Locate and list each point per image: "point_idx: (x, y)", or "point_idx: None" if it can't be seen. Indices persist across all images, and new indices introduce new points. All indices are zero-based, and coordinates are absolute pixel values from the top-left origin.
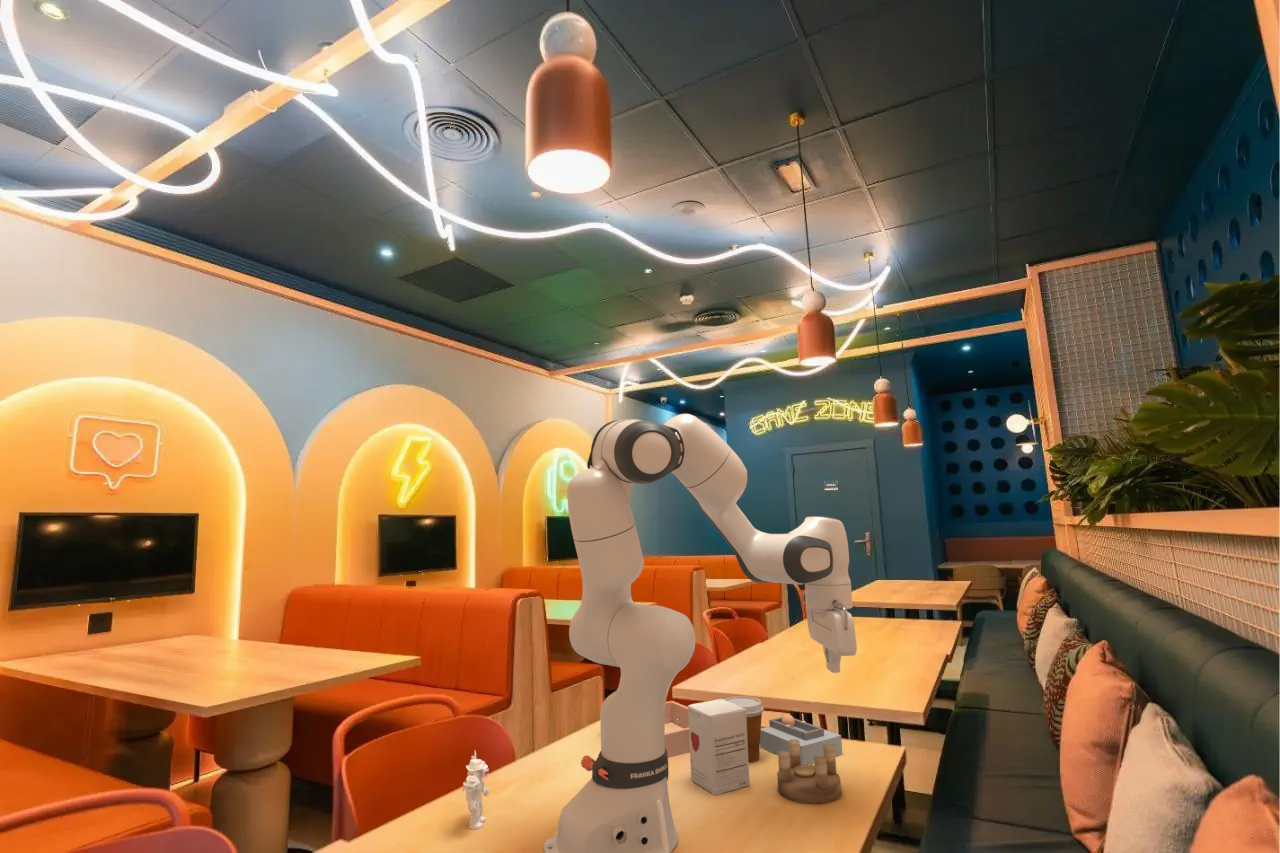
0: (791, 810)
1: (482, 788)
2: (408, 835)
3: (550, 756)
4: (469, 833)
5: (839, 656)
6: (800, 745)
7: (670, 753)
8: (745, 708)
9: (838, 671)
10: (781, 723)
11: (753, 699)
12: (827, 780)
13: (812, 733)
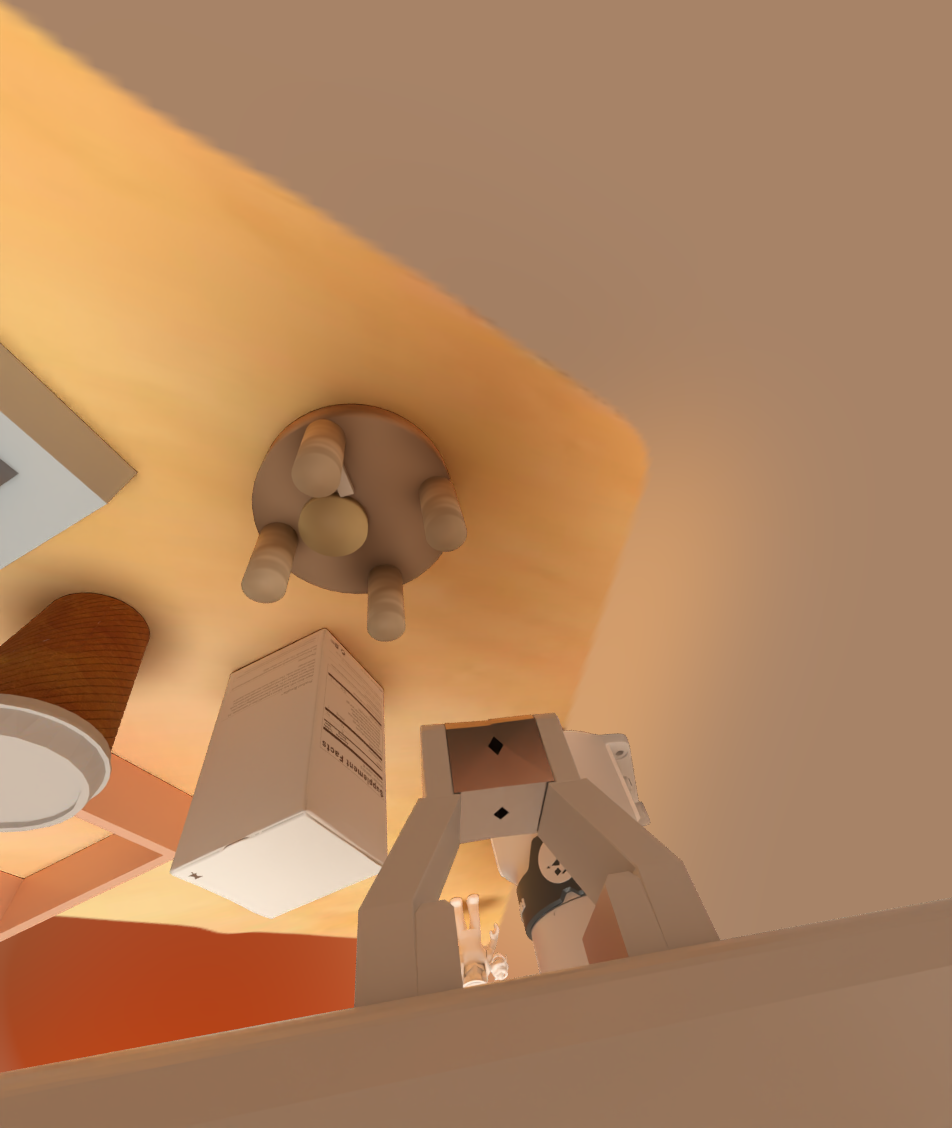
0: (475, 557)
1: None
2: (483, 928)
3: (195, 912)
4: (488, 897)
5: (660, 855)
6: (95, 506)
7: (142, 779)
8: (86, 769)
9: (554, 721)
10: None
11: None
12: (448, 486)
13: None
